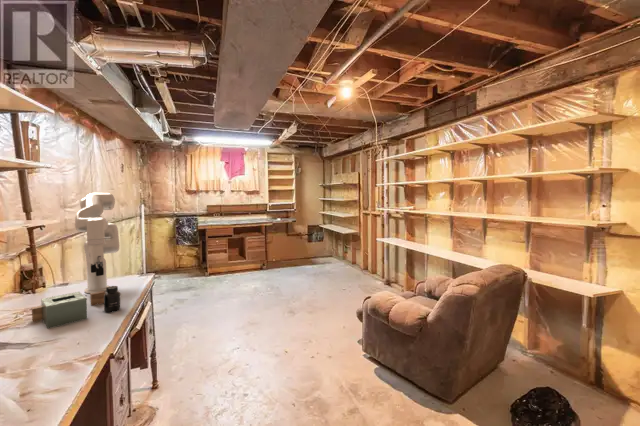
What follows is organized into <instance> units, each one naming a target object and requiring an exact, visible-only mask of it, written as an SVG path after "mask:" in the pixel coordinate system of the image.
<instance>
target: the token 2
mask: <svg viewBox="0 0 640 426" xmlns="http://www.w3.org/2000/svg"><path fill="white" fill-rule="evenodd" d="M105 293H106V291H100V292H95V293H89V294H90V295H89V298H90V300H89V302H90V306H92V307H93V306H96V305H101V304H104V294H105Z"/></svg>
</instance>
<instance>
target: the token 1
mask: <svg viewBox="0 0 640 426" xmlns="http://www.w3.org/2000/svg"><path fill="white" fill-rule="evenodd" d="M31 319H32V322H37V321H43V320H42V306H41V305H37V306H32V307H31Z"/></svg>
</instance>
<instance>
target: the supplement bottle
mask: <svg viewBox="0 0 640 426" xmlns="http://www.w3.org/2000/svg"><path fill="white" fill-rule="evenodd" d="M109 286H110V287H107V288H106V291H105V294H104V303H103V310H104V311H103V312H105V313H108V314H109V313H110V314H111V313H115V312H118V311H120V310H121V292H120V291H119V289H118V288H119V287H118V286H117V285H109Z"/></svg>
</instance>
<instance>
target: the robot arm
mask: <svg viewBox="0 0 640 426" xmlns="http://www.w3.org/2000/svg"><path fill="white" fill-rule="evenodd" d="M114 196H115V195H113V194H112V193H109V192H92V193H91V192H90V193H89V194H86V196H85V197H83V198H81V199H80V202H79V204H80V210H78V212H77V213H76V215H75V217H74V226H75V227H74V228H75V230H76V231H77V232H80V233H86V241H84V244H83V249H84V254H85V260H86V261H85V262H86V279H87V280H86V282H87V284H86V285H87V286H86V287H87V288H85V289H84V291H83V292H84V293H85V294H90V293H95V292H100V291H105V292H106V288H107V287H110V286H111V285H108V281H107V280H108V279H107V261H106V259H105V254H114V253H118V252H119V250H120V237H119V228H118V226H117V224H115V223H111V222H109V223H108V220H107V219H106V218H105V217H102V214H103V213H104V211H112V210H113V209H114V208H115V203H116V198H115V197H114Z"/></svg>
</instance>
